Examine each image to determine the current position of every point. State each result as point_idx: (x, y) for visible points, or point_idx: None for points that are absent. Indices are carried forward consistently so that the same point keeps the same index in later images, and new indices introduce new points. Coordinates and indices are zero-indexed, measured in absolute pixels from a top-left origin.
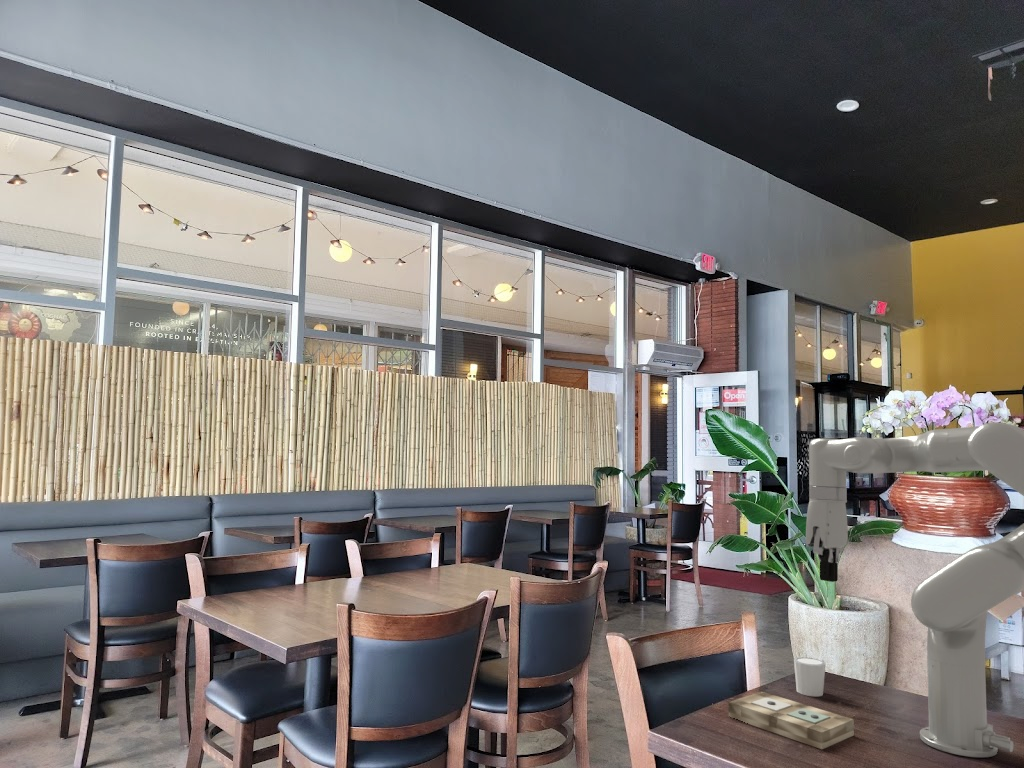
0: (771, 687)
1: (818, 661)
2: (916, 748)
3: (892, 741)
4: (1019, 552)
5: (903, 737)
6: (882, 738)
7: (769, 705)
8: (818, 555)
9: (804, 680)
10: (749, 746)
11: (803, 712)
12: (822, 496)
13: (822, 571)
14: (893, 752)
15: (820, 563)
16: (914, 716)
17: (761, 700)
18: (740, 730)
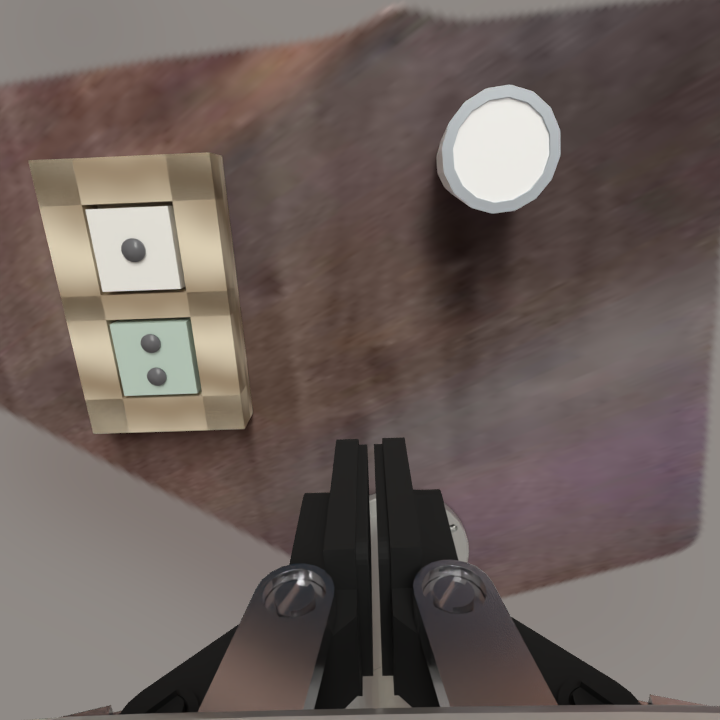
0: (415, 47)
1: (533, 171)
2: None
3: (298, 471)
4: None
5: None
6: (295, 453)
7: (116, 256)
8: (165, 679)
9: (439, 165)
10: None
11: (151, 347)
12: None
13: (302, 522)
14: (240, 498)
15: (327, 539)
16: (513, 427)
17: (128, 216)
18: (17, 247)
